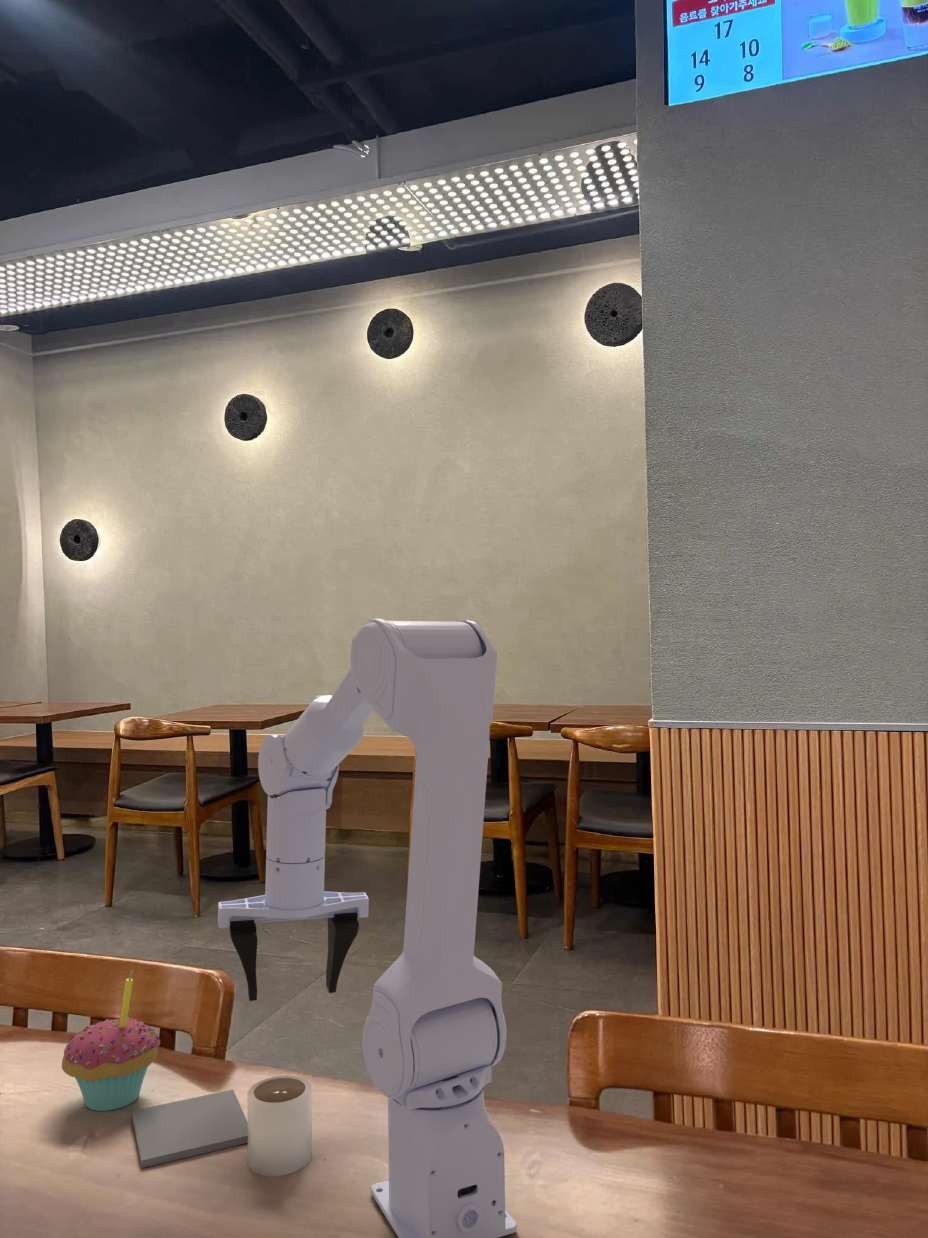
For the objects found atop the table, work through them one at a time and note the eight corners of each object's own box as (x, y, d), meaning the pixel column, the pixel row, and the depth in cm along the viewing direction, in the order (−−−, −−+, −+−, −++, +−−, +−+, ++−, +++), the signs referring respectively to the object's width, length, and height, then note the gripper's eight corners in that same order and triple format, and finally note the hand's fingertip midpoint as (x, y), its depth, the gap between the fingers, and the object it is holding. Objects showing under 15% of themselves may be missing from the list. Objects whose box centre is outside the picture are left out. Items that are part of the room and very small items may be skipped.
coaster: (252, 1141, 77) (252, 1134, 77) (141, 1168, 73) (141, 1160, 73) (233, 1096, 85) (233, 1089, 85) (132, 1117, 81) (132, 1111, 81)
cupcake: (173, 1080, 88) (173, 956, 89) (133, 1125, 80) (133, 987, 80) (90, 1077, 89) (91, 955, 90) (42, 1121, 81) (42, 985, 81)
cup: (319, 1166, 73) (318, 1096, 73) (255, 1183, 71) (254, 1111, 71) (302, 1136, 78) (302, 1070, 78) (241, 1150, 75) (241, 1083, 76)
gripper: (361, 841, 94) (357, 969, 95) (218, 848, 90) (215, 982, 90) (374, 860, 88) (370, 998, 88) (220, 869, 83) (217, 1014, 84)
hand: (292, 992), depth 89 cm, fingers open, 7 cm apart
